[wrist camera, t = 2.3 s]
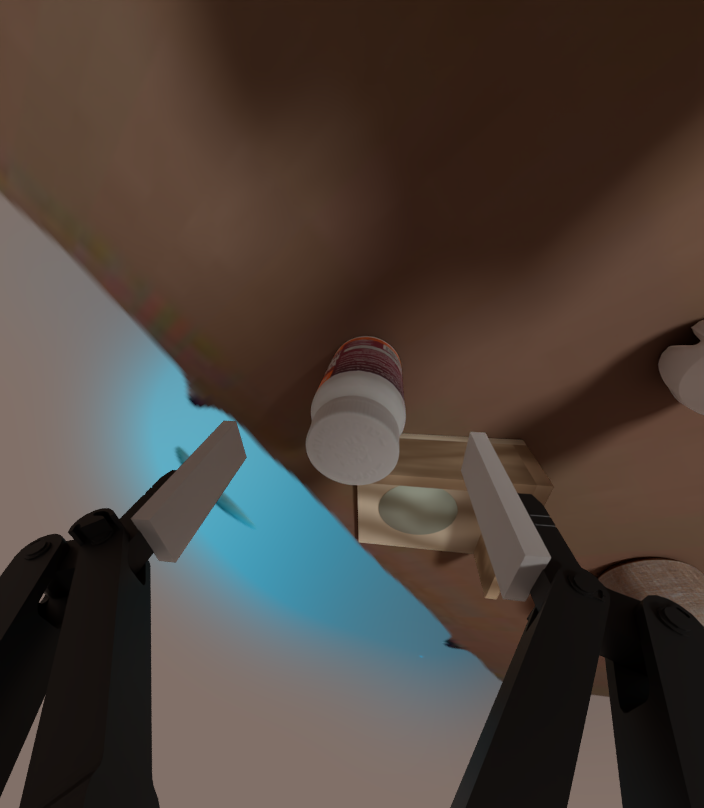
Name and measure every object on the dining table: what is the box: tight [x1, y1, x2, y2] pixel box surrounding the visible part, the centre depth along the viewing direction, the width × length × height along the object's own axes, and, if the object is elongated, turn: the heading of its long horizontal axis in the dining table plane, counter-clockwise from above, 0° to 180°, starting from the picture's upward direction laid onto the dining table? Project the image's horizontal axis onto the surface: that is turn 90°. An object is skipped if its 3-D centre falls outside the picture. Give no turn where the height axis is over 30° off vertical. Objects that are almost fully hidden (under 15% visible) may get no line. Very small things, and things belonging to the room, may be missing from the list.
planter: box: [598, 558, 704, 627], centre depth 30 cm, size 11×11×10 cm
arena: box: [357, 433, 554, 599], centre depth 29 cm, size 18×16×6 cm
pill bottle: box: [306, 336, 406, 485], centre depth 19 cm, size 6×6×11 cm
